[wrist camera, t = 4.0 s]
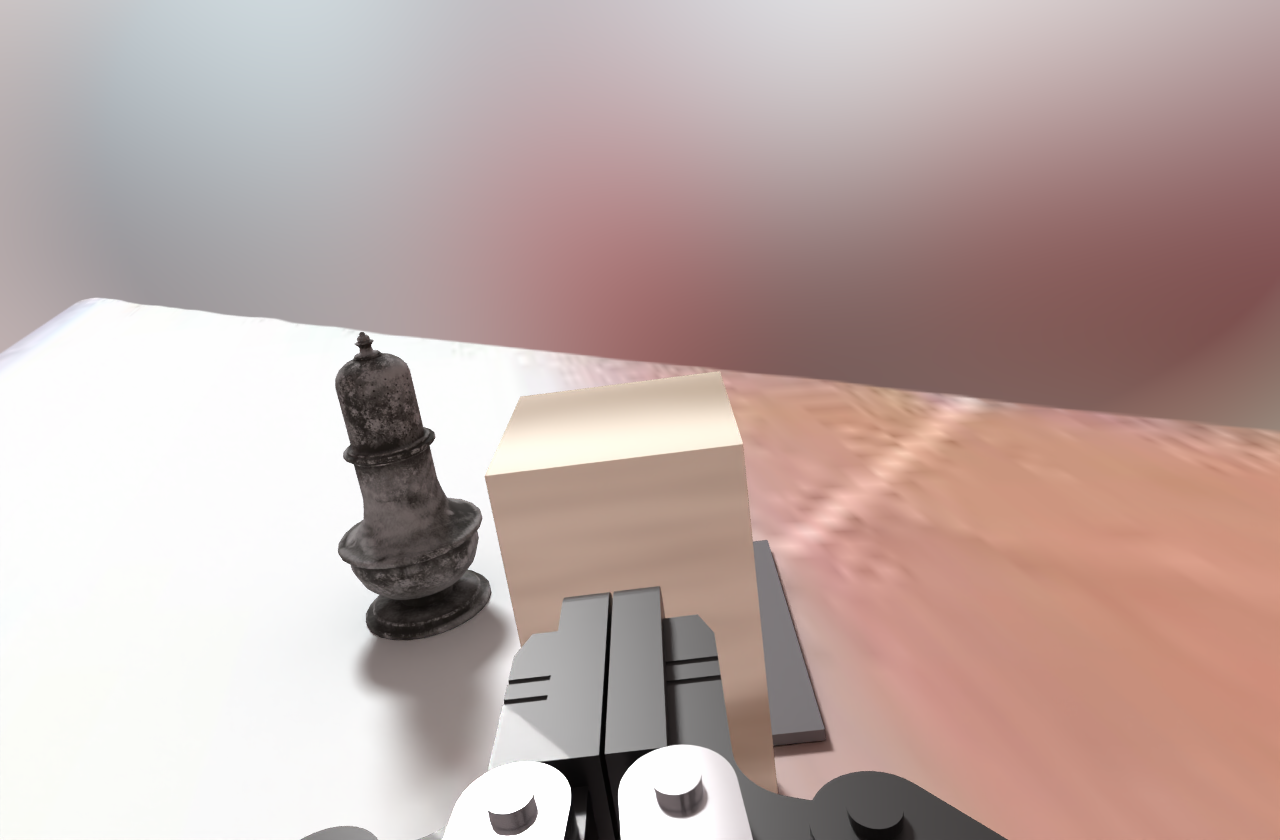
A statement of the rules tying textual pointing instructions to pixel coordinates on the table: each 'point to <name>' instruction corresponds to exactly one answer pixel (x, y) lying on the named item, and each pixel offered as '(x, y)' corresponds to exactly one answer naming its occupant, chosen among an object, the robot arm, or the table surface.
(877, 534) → the table surface
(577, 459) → the birch block
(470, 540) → the salt shaker
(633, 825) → the robot arm
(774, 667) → the gray rectangular block
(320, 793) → the table surface
